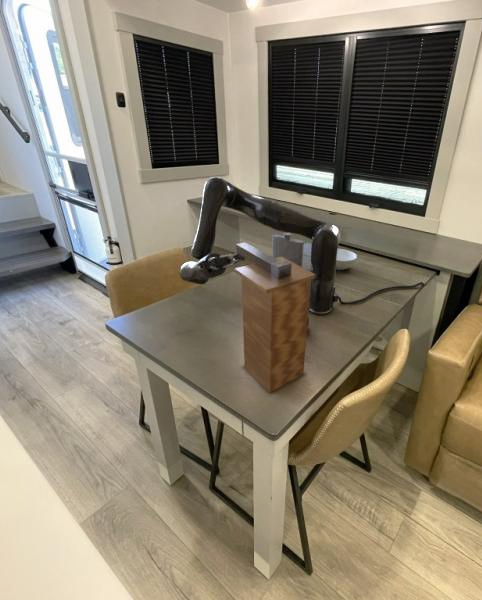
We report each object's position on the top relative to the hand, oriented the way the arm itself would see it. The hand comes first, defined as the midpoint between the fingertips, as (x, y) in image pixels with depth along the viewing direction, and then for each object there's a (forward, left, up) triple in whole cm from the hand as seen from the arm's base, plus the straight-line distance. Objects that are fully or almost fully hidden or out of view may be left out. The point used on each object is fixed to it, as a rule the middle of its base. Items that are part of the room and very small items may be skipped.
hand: (230, 257), depth 98 cm
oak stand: (0, +22, -28) cm, 36 cm away
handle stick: (0, +16, +4) cm, 16 cm away
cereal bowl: (-73, -21, -28) cm, 81 cm away
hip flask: (-45, -29, -28) cm, 61 cm away
